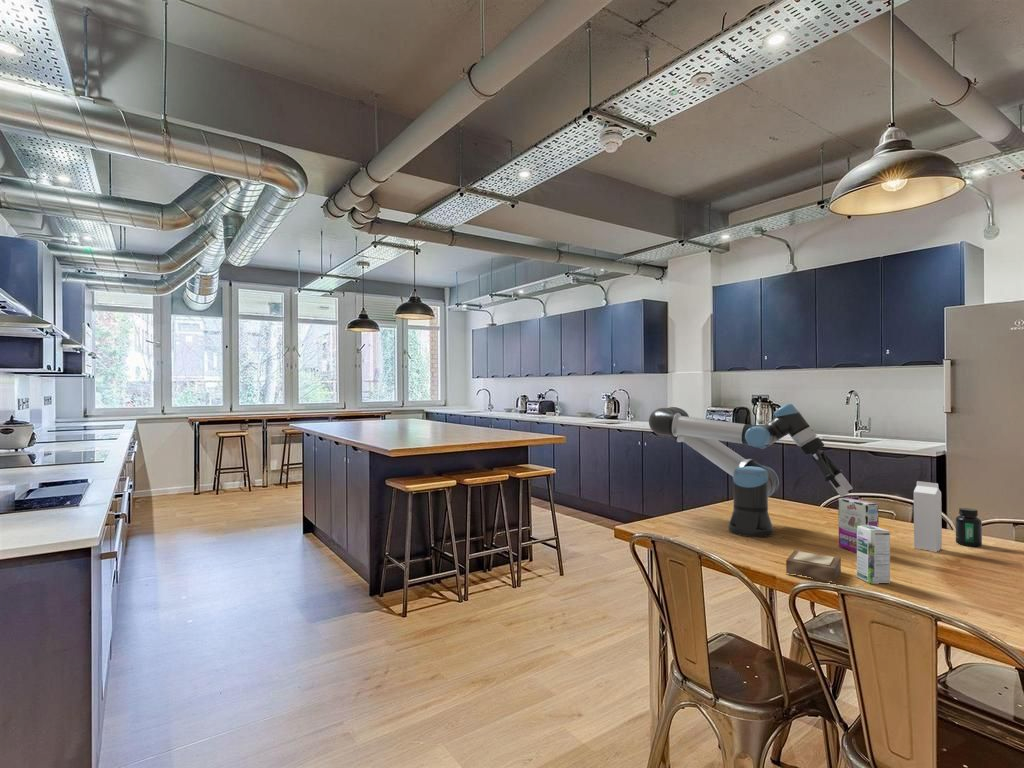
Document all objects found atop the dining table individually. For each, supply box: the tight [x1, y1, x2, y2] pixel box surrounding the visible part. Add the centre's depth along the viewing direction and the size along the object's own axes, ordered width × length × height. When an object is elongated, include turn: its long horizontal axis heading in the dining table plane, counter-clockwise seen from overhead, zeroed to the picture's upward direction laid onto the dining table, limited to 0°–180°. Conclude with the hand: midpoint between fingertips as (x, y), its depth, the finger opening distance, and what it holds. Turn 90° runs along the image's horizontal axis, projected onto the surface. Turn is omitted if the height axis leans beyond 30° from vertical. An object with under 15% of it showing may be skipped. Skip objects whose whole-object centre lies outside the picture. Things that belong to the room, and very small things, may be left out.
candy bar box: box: [838, 497, 880, 554], centre depth 176 cm, size 11×5×16 cm, turn 14°
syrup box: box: [856, 525, 891, 585], centre depth 149 cm, size 6×6×14 cm
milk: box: [913, 480, 943, 553], centre depth 179 cm, size 6×6×22 cm
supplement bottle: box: [955, 507, 983, 548], centre depth 184 cm, size 7×7×12 cm
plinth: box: [785, 550, 842, 582], centre depth 155 cm, size 12×12×4 cm
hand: (847, 492), depth 193 cm, fingers open, 13 cm apart
